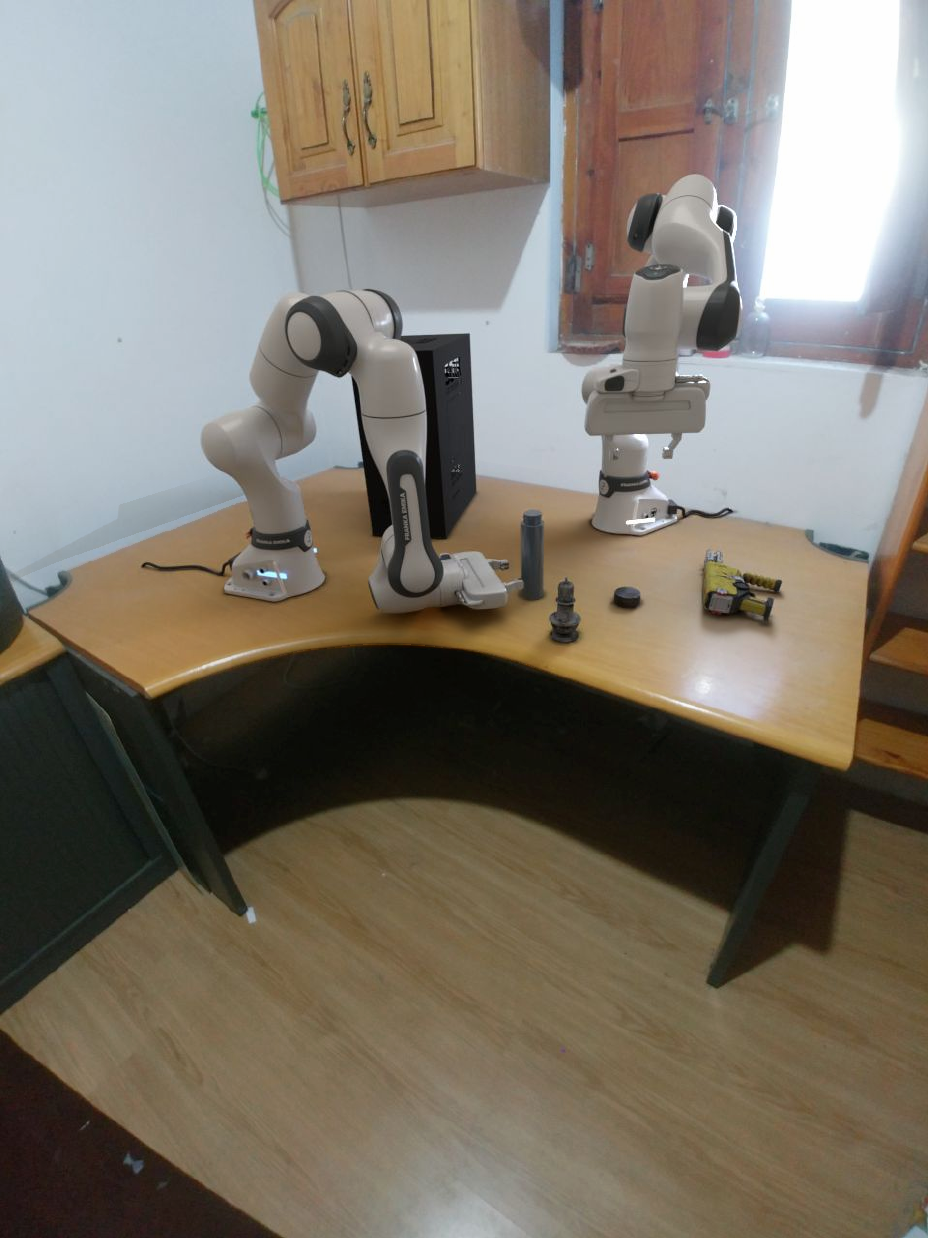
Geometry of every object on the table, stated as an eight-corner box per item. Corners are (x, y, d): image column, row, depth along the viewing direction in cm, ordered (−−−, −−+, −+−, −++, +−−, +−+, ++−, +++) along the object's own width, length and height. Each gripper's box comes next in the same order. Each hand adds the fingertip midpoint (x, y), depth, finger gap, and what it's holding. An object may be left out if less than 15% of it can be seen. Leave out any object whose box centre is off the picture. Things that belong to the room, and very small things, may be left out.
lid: (628, 593, 126) (629, 584, 125) (645, 604, 122) (646, 594, 121) (608, 599, 124) (609, 590, 123) (624, 610, 120) (625, 600, 119)
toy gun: (779, 558, 129) (706, 546, 133) (794, 606, 109) (707, 591, 113) (773, 578, 131) (701, 566, 135) (786, 629, 111) (701, 613, 115)
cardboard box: (446, 538, 156) (432, 350, 134) (372, 535, 161) (348, 352, 138) (476, 491, 188) (469, 333, 165) (414, 490, 192) (399, 335, 170)
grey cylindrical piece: (525, 601, 125) (525, 518, 116) (517, 591, 129) (517, 510, 120) (546, 597, 126) (548, 514, 117) (538, 587, 130) (539, 507, 121)
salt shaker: (579, 643, 110) (582, 585, 104) (547, 641, 111) (548, 583, 105) (580, 627, 115) (583, 570, 109) (549, 625, 116) (551, 569, 110)
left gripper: (461, 592, 112) (532, 581, 114) (439, 550, 129) (501, 541, 132) (463, 621, 115) (531, 610, 118) (441, 576, 132) (501, 567, 135)
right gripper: (707, 371, 103) (695, 452, 110) (585, 376, 105) (581, 455, 112) (717, 377, 97) (704, 462, 104) (588, 382, 100) (584, 465, 106)
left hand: (515, 573), depth 125 cm, fingers open, 8 cm apart
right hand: (640, 458), depth 108 cm, fingers open, 8 cm apart
